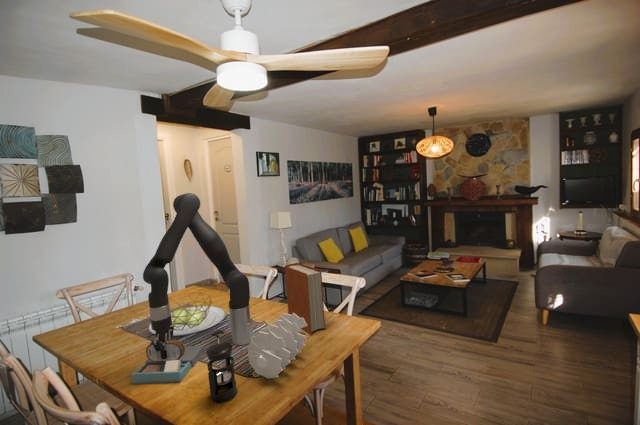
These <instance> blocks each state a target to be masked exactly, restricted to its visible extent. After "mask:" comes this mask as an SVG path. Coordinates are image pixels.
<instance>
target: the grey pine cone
mask: <svg viewBox="0 0 640 425" xmlns="http://www.w3.org/2000/svg"><path fill="white" fill-rule="evenodd" d="M306 326H308V325H307V324H306V322H305V320H304V318H303V317H302V318H300V317H298V316H297V315H296V314H294V313H292V315H290V314H288V313H285V312H284V313H282V316H279V317H277V318H275V319H274V320H273V322H272V323H270V324H267V326H266V327H263V328H260V331H259V332H258V334H256V335H253V337H251V342H250V343H248V345H247V347H246V348H247V349H248V350H247V353H248V356H247V359H248V363H249V364H250V367H252V369H253V370H254V371H255V372H256V374H257V375H258V376H262V377H264V378H266V379H268V380H270V379H275V378H277V379H278V378H279V374H280V373H281V372H283V370H286V367H287V366H288V365H289V364H291V361H296V356H297V354H302V350H304V348H305V347H306V344H305V337H306V336H305V335H304V334H302V333H299V332H301V330H302V329H301V328H303V327H306Z"/></svg>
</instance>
